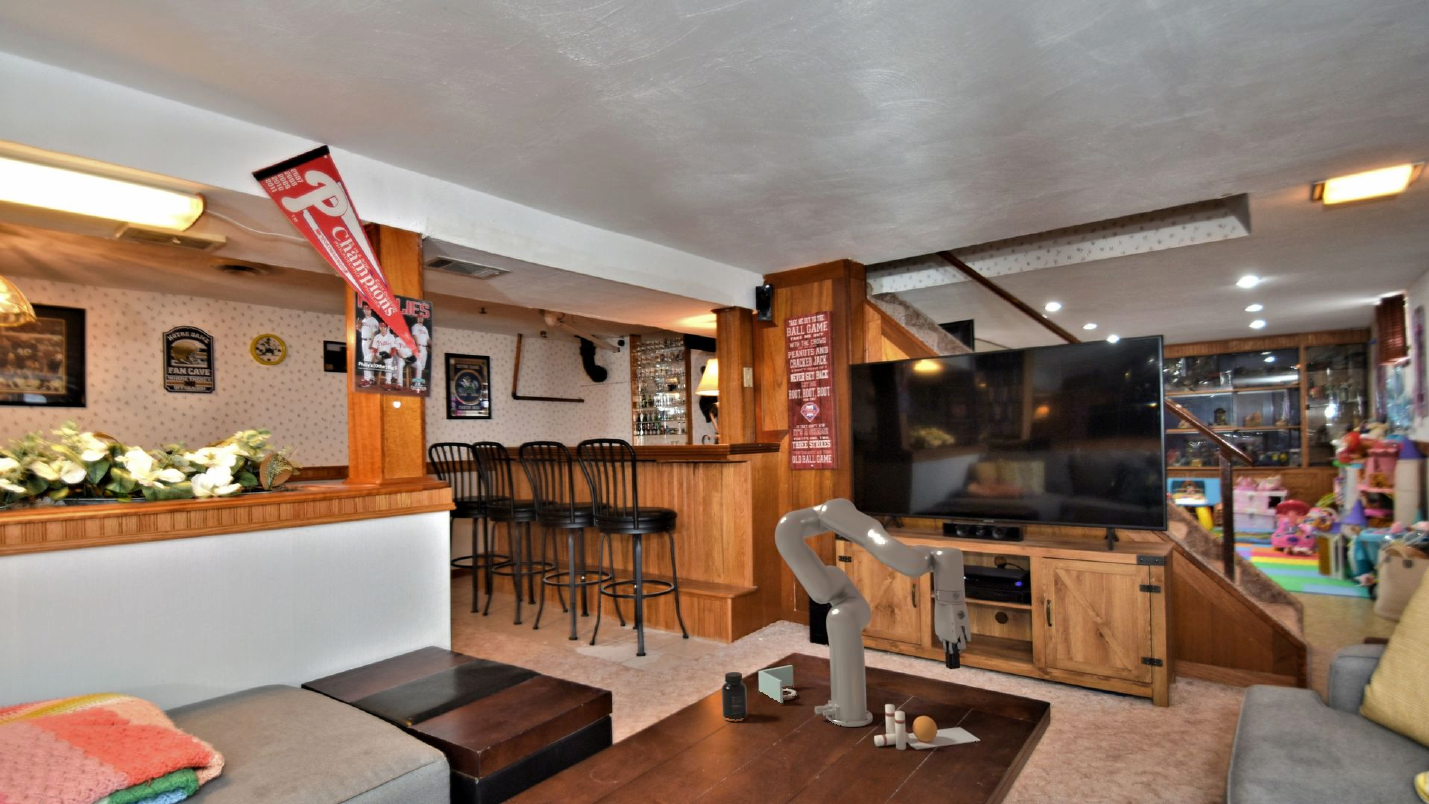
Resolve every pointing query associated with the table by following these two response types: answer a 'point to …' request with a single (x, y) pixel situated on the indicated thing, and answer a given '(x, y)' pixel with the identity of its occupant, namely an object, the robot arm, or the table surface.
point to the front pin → (887, 739)
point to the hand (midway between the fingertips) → (953, 667)
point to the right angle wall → (776, 682)
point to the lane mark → (943, 738)
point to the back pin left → (890, 718)
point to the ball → (924, 728)
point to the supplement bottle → (734, 696)
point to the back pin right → (900, 730)
